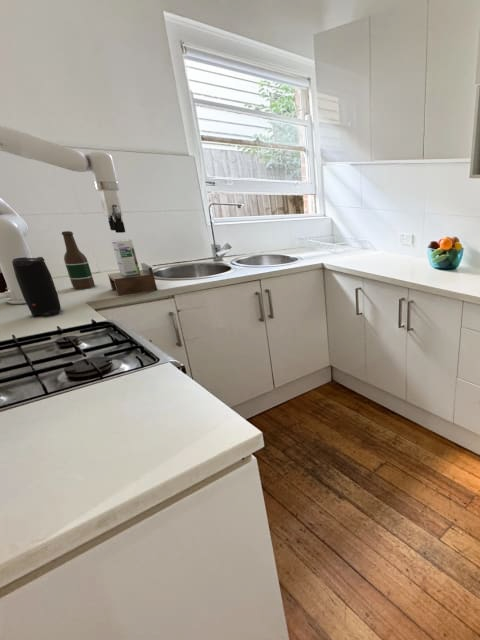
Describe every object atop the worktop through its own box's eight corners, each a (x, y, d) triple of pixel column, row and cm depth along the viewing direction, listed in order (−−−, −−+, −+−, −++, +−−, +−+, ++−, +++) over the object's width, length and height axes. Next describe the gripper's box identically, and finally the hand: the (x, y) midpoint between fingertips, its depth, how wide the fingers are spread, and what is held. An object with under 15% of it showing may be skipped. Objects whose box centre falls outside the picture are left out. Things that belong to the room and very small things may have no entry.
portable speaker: (44, 318, 130) (23, 261, 122) (23, 316, 132) (1, 259, 124) (70, 311, 138) (51, 257, 130) (50, 309, 140) (31, 255, 132)
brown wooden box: (118, 295, 158) (112, 271, 154) (112, 289, 166) (105, 266, 163) (157, 290, 167) (151, 267, 164) (149, 284, 176) (144, 263, 172)
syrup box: (125, 276, 161) (115, 241, 155) (120, 274, 164) (110, 239, 158) (140, 274, 165) (132, 239, 159) (135, 272, 168) (126, 238, 163)
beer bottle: (99, 286, 172) (83, 231, 162) (81, 290, 165) (63, 233, 156) (86, 284, 173) (69, 230, 164) (68, 288, 166) (49, 232, 157)
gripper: (91, 186, 154) (102, 229, 160) (99, 186, 143) (111, 233, 149) (114, 186, 159) (124, 229, 165) (123, 187, 148) (134, 233, 154)
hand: (118, 231), depth 157 cm, fingers open, 9 cm apart
